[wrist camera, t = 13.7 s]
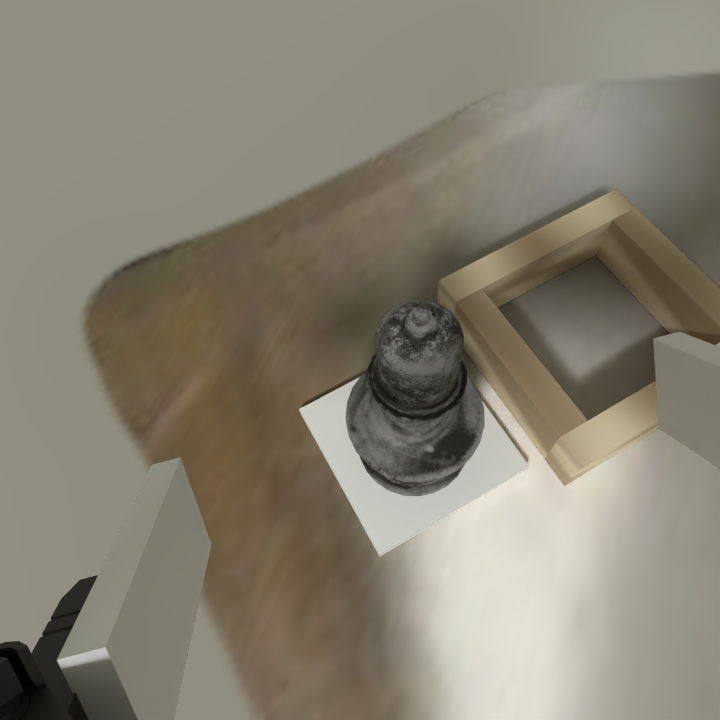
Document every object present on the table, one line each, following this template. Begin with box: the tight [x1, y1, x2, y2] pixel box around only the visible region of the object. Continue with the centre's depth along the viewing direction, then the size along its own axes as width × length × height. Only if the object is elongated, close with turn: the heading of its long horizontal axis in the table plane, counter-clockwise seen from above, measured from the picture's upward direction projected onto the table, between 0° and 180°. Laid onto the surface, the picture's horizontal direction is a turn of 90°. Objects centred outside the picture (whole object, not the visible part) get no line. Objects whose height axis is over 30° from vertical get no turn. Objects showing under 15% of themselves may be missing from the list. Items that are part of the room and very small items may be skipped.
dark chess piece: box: [346, 299, 485, 496], centre depth 23 cm, size 6×6×12 cm
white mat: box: [299, 377, 529, 556], centre depth 28 cm, size 8×8×1 cm
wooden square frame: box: [437, 189, 720, 485], centre depth 29 cm, size 11×11×3 cm
